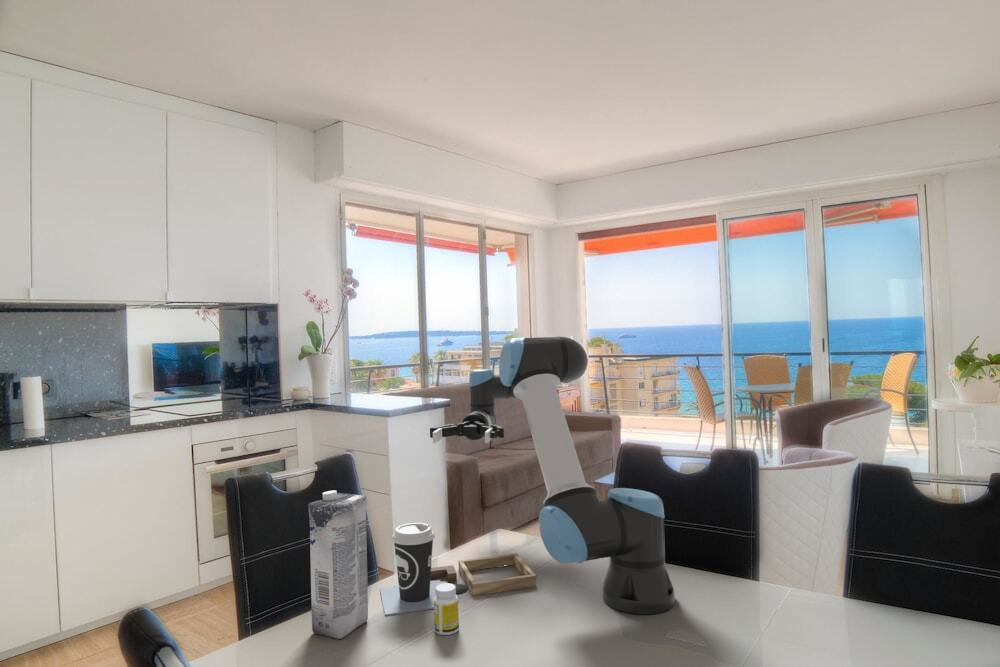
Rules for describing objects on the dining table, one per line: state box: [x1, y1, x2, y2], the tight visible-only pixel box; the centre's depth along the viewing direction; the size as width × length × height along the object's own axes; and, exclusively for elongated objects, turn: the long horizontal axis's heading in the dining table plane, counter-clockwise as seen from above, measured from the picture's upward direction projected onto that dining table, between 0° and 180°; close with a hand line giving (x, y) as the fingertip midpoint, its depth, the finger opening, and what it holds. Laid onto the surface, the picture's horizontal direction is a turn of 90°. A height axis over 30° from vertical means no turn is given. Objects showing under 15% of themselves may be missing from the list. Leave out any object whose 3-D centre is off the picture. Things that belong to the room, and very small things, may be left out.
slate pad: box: [379, 579, 443, 617], centre depth 133 cm, size 14×14×1 cm
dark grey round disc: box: [454, 583, 469, 595], centre depth 137 cm, size 5×5×1 cm
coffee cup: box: [391, 522, 436, 602], centre depth 133 cm, size 10×10×15 cm
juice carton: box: [307, 490, 369, 640], centre depth 120 cm, size 9×10×27 cm
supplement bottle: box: [433, 582, 460, 636], centre depth 118 cm, size 5×5×8 cm
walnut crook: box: [430, 564, 458, 583], centre depth 143 cm, size 5×8×2 cm, turn 104°
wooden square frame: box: [458, 553, 537, 597], centre depth 142 cm, size 15×15×2 cm
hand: (460, 437), depth 153 cm, fingers open, 13 cm apart
